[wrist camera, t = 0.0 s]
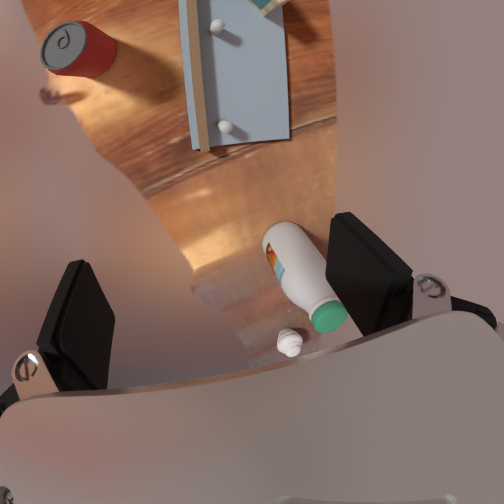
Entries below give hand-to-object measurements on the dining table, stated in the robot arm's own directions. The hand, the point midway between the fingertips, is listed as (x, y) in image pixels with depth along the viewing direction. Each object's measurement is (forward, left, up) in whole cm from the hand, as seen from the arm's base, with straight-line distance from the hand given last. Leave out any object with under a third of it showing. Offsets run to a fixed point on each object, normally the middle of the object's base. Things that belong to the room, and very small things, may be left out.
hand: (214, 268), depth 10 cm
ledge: (-13, +7, -31) cm, 35 cm away
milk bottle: (+20, +13, -31) cm, 39 cm away
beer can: (-15, -12, -31) cm, 37 cm away
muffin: (+46, +14, -31) cm, 57 cm away
